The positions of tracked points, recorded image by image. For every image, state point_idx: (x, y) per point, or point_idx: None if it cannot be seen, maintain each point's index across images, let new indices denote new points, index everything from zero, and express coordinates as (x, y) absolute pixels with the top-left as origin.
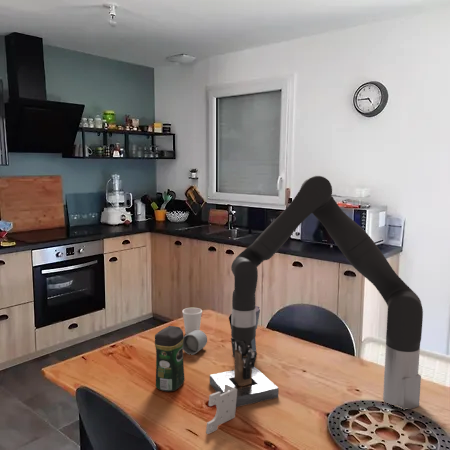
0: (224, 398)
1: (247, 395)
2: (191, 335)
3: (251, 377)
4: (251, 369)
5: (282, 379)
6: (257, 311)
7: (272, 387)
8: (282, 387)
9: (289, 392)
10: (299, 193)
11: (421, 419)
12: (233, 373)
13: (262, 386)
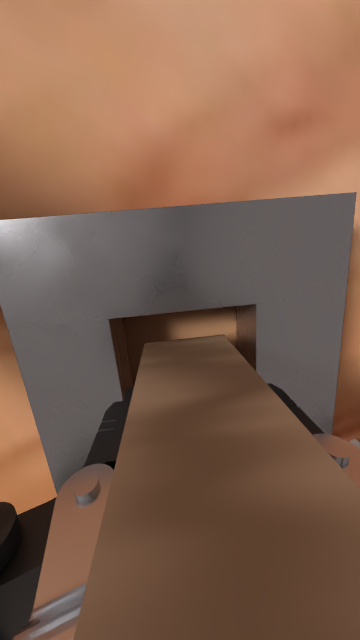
0: None
1: (331, 397)
2: None
3: (237, 352)
4: (265, 386)
5: (125, 62)
6: None
7: (332, 231)
8: (223, 125)
9: (291, 113)
10: None
11: None
12: (74, 402)
13: (292, 290)
